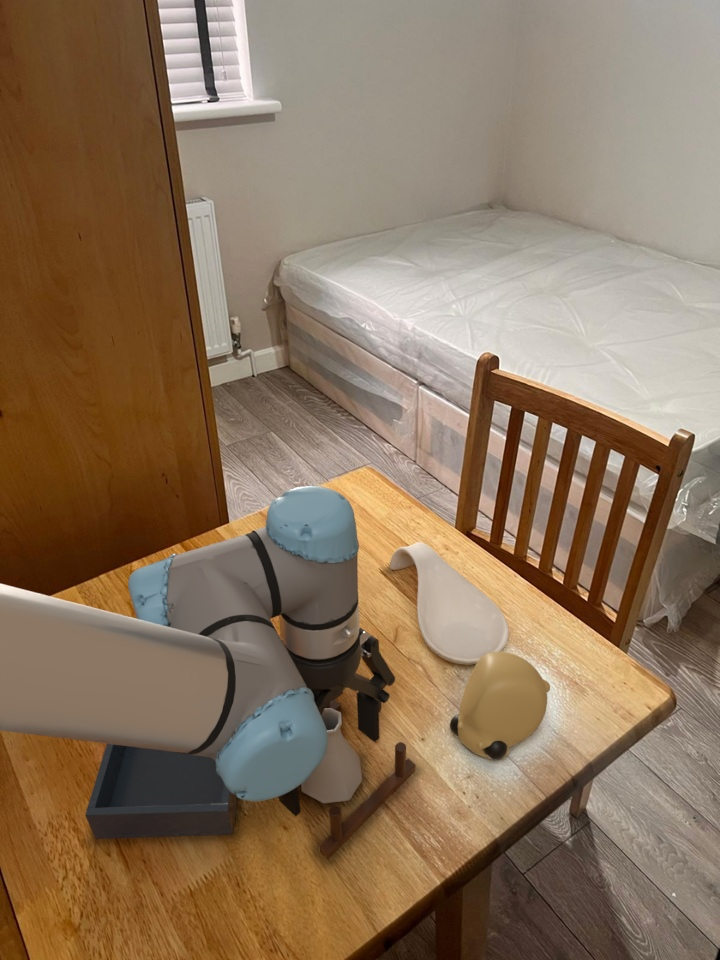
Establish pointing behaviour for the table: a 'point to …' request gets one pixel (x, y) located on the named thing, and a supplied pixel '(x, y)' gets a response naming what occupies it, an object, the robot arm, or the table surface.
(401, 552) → the spoon rest
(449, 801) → the table surface
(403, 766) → the drying rack
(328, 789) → the flask
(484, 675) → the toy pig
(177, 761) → the basin
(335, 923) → the table surface
